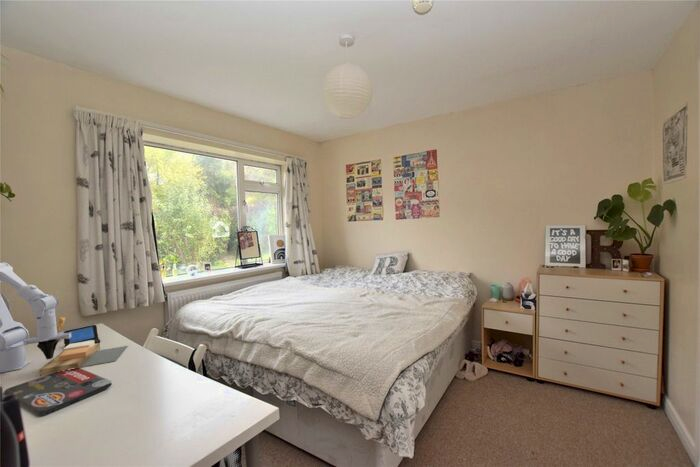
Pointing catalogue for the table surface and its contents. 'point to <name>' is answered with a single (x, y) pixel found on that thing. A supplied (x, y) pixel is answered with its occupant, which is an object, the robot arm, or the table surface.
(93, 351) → the deck
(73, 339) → the handheld game console
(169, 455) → the table surface
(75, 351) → the orange rectangular block
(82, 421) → the table surface
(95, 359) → the mat
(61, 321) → the figurine
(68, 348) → the cream rectangular block
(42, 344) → the robot arm
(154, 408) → the table surface
